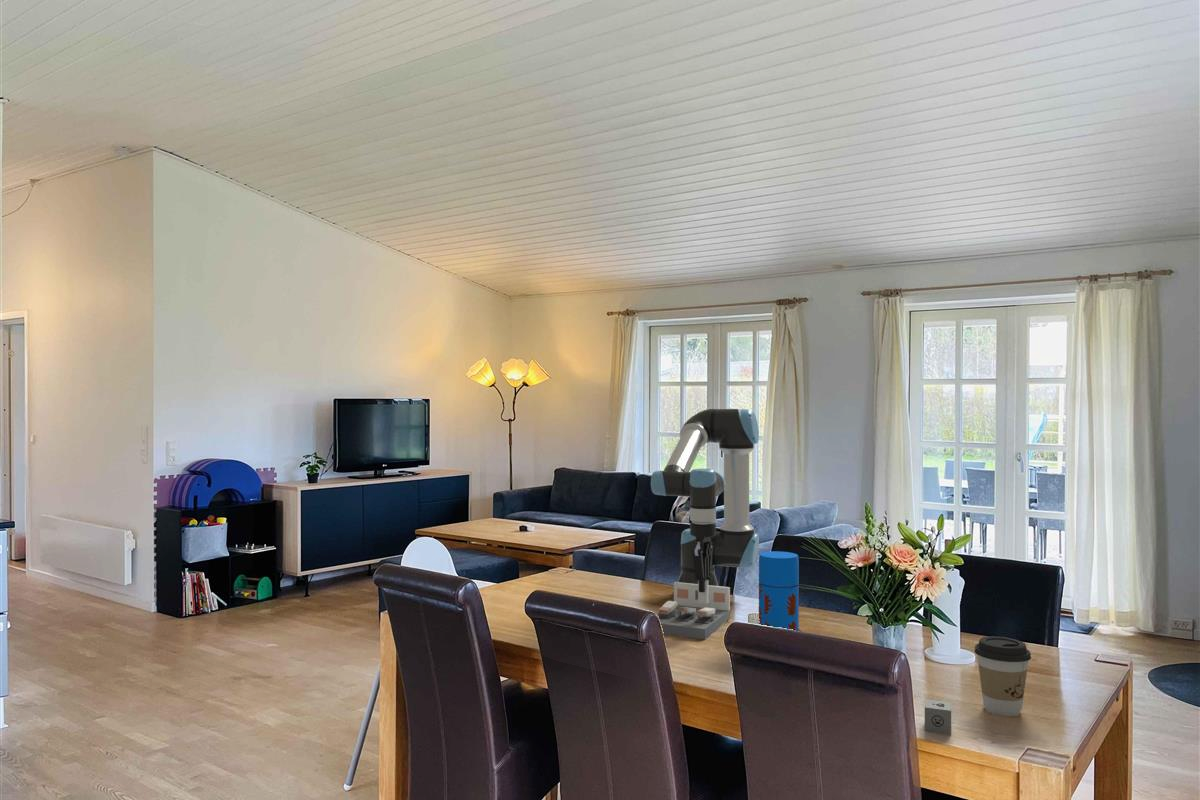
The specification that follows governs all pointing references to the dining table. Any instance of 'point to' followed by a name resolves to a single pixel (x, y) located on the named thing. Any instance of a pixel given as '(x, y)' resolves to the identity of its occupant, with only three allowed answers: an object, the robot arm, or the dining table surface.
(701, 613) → the switch
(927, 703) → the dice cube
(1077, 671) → the dining table surface
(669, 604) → the switch
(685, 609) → the switch
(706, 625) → the switch unit
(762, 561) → the thermos
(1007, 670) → the coffee cup
